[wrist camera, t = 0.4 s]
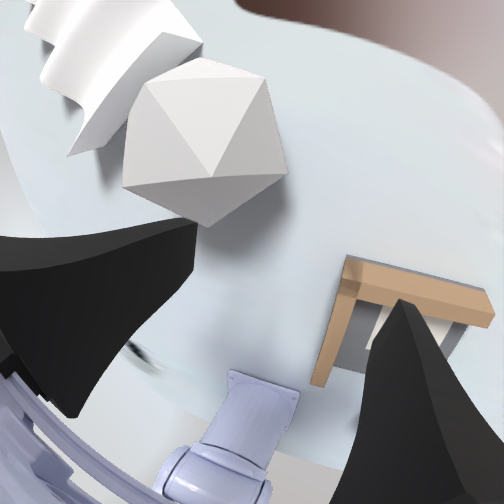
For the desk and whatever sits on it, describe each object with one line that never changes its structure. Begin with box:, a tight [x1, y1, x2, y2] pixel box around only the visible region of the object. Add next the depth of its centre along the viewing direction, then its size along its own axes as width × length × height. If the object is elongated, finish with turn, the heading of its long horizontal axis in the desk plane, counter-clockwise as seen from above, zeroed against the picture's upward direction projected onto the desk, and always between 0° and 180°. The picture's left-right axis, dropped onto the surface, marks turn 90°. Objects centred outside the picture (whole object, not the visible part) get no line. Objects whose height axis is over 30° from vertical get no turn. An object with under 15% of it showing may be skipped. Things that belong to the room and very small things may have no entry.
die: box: [122, 57, 288, 228], centre depth 14 cm, size 8×9×10 cm
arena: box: [310, 255, 495, 388], centre depth 18 cm, size 10×11×3 cm
